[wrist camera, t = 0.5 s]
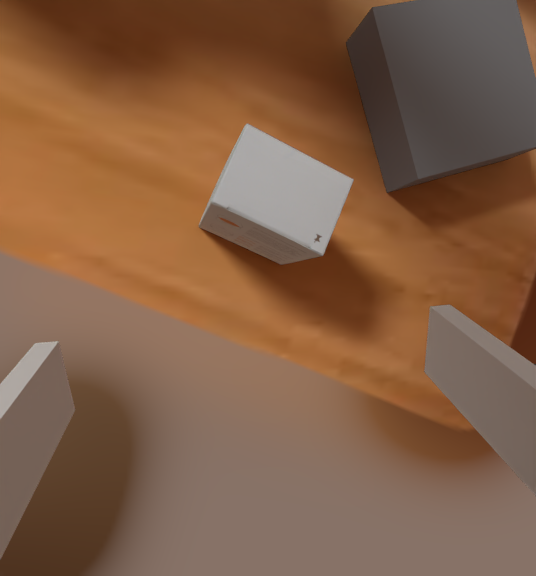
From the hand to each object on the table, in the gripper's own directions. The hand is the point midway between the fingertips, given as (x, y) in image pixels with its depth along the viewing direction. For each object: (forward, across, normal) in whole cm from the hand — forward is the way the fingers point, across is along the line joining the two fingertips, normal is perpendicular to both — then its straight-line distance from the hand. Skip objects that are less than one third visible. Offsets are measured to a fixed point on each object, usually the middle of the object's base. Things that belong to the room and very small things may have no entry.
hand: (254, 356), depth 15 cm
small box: (+23, +2, +1) cm, 23 cm away
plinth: (+29, +20, +9) cm, 36 cm away
